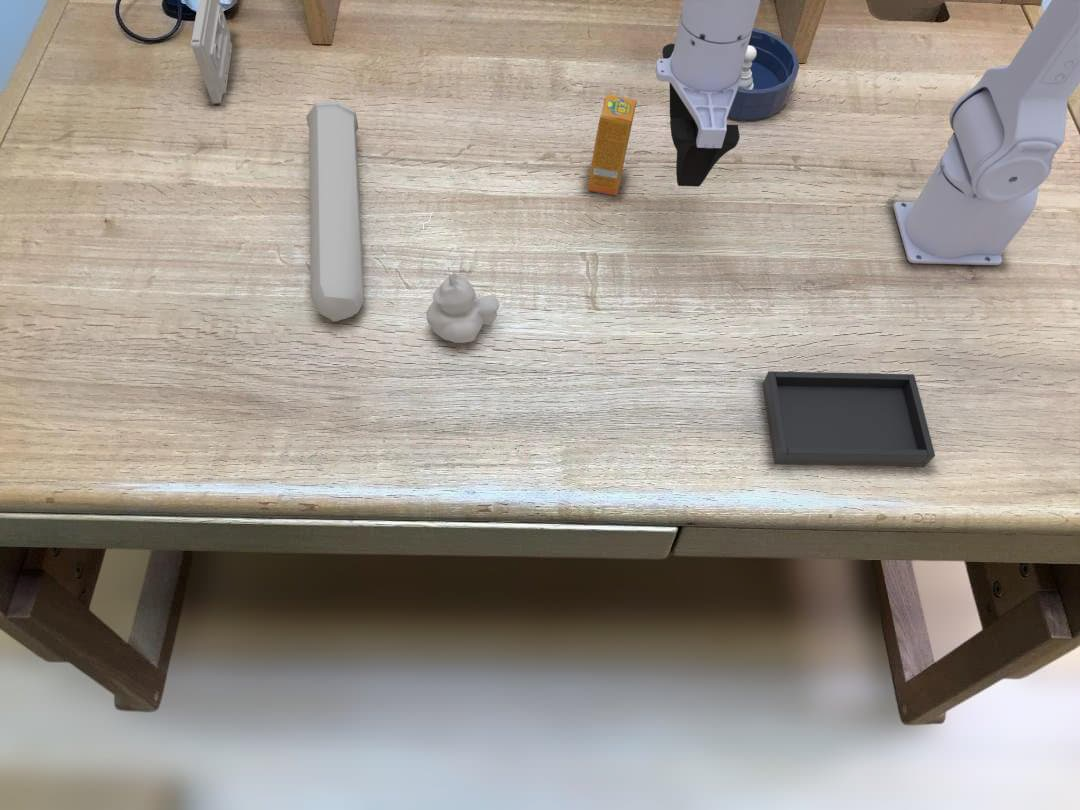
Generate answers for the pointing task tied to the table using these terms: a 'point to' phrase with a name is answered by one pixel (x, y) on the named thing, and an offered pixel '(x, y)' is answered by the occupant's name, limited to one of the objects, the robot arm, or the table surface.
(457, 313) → the rubber duck
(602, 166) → the supplement box
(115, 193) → the table surface
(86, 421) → the table surface
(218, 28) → the cassette
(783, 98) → the bowl
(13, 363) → the table surface
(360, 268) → the tube
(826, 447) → the tray
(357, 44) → the table surface
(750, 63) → the chess pawn
